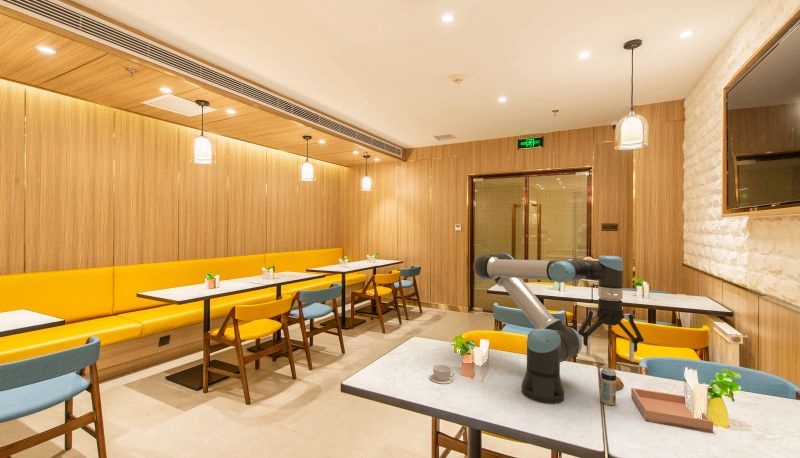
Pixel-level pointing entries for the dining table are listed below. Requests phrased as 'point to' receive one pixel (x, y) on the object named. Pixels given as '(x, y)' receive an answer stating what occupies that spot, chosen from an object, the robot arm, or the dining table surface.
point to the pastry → (619, 383)
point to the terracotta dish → (668, 410)
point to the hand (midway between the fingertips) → (609, 357)
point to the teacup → (442, 374)
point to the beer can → (608, 386)
